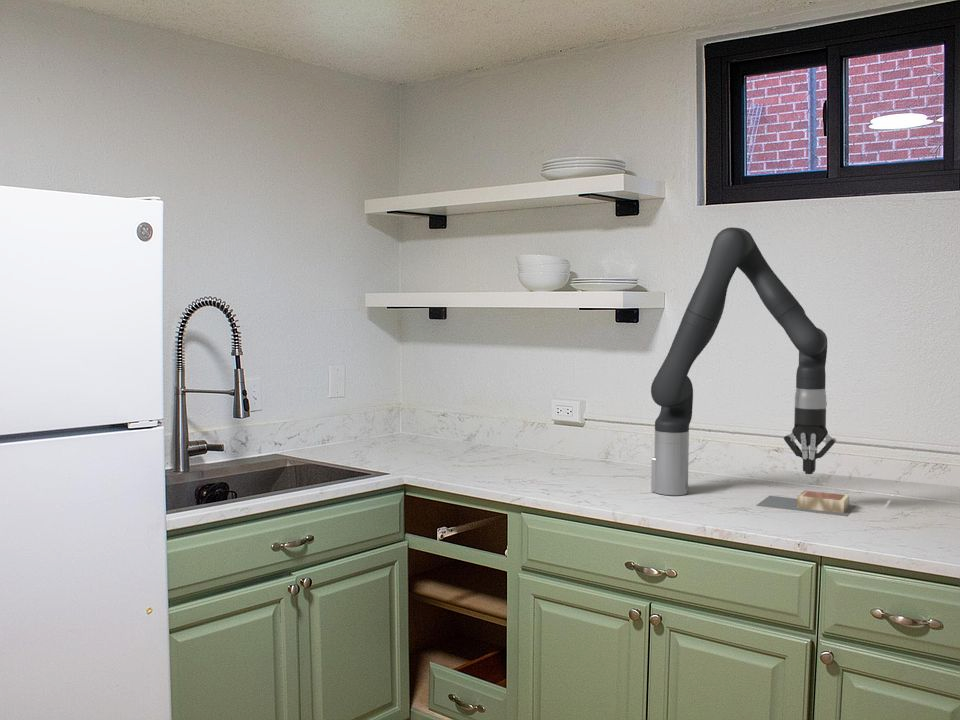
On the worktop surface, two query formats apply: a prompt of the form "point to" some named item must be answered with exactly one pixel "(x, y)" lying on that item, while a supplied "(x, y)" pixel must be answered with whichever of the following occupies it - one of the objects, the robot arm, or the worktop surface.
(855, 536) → the worktop surface
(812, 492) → the cream brown rectangular block
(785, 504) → the rubber mat
